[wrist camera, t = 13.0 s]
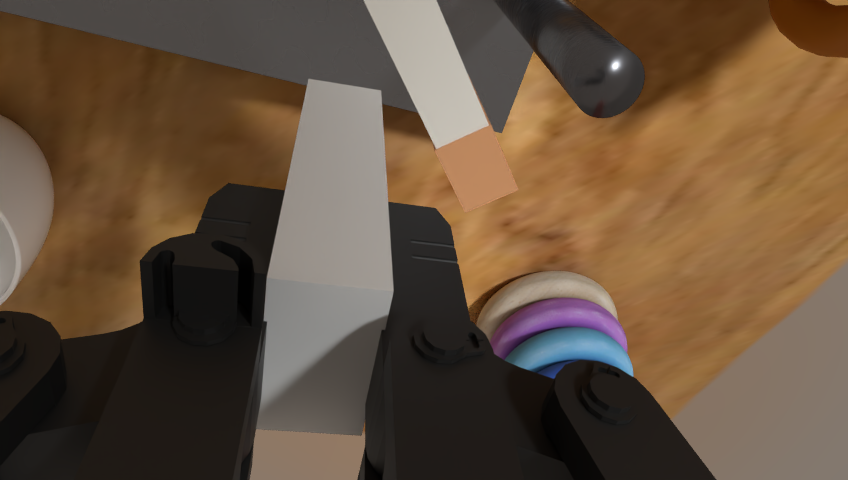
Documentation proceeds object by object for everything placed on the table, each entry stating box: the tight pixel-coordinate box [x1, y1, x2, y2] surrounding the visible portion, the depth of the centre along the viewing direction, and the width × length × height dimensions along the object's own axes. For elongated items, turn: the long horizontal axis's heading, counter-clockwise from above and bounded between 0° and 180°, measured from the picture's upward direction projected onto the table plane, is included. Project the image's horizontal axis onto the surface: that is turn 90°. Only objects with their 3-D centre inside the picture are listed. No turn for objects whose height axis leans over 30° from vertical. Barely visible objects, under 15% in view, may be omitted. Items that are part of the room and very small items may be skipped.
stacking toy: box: [476, 271, 633, 379], centre depth 27 cm, size 8×8×19 cm
